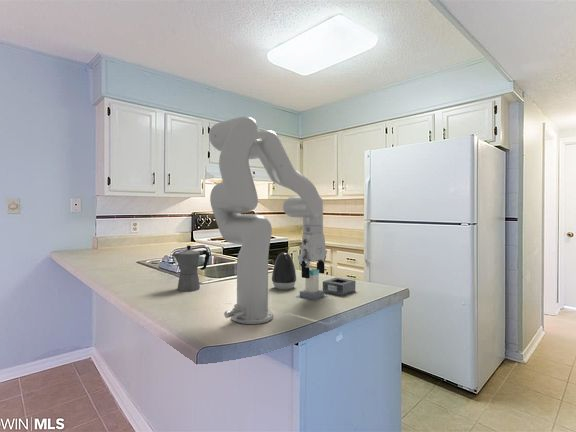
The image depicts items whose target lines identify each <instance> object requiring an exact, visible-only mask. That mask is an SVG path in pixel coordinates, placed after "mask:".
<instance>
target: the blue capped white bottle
mask: <svg viewBox="0 0 576 432" xmlns="http://www.w3.org/2000/svg"><path fill="white" fill-rule="evenodd" d="M309 270H310V278H305V289H304V290H305V292H309V293H316V292H318V290H320V289H319V288H320V287H319V281H320V280H319V277H320V273H319V270H317V268H316V269H315V268H309Z"/></svg>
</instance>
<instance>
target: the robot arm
mask: <svg viewBox="0 0 576 432" xmlns="http://www.w3.org/2000/svg"><path fill="white" fill-rule="evenodd" d="M258 127H259V126H258V123H257V122H256V120H255V119H254V118H252V117H250V116H238V117H235V118H230V119H227V120H223V121H220V122H217V123H215V124H213V125H212V126H211V128H210V129H209V132H208V138H209V142H210V144H211V145H212V147H214V149H215V150H217V151H219V152H220V154H219V160H218V162H219V163H218V167H219V173H220V176H221V179H222V181H221V182H218V183H216V184H215V185H214V186H213V187H212V189H211V192H210V197H209V200H210V201H209V202H210V205H211V206H210V207H211V210H212V213H213V215H214V219H215V222H216V224H217V227H218V231H219V233H220V235H221V237H222V239H223V240H225V242H227V243H229V244H234V245H241V247H240V250H239V251H238V254H237V259H236V303H235V304H233V305H234V306H233V308H232V309H231V310H230V309H229V310H226V311H224V313H223V315H224V317H225V318H226V319H229V318H231V320H232V321H234V322H235V323H239V324H242V325H243V324H244V325H257V324H264V323H267V322H269V321H271V320H272V319H273V318H274V313H273V311H272V310H270V309H269V254H270V253H269V250H270V245H271V240H272V234H273V228H272V224H271V221H269V219H267V217H265V216H262V215H260V214H253V213H252V214H250V213H249V212H252V211H254V210H255V209H256V208H257V207H258V203H259V199H258V198H259V197H258V192H257V189H256V185H255V183H254V178H253V175H252V171H251V167H250V163H249V162H250V161H249V160H256V159H259V161H260V162H261V165H262V166H263V167H264V170H265V171H266V174H267V175H268V176H269V178H270V180H271V182H273V183H275V184H277V185H279V186H281V187H284V188H286V189H288V190H291V191H293V192H294V193H295V194H297V196H294V195H293V196H290V197H288V198H286V199H284V201H283V205H282V208H283V209H282V210H283V212H284V213H285V215H287V216H288V217H291V218H302V238H301V246H300V247H301V249H300V250H301V251H300V252H301V253H299V254H298V255H297V260H298V262H299V263H298V264H299V265H300V267H301V278H304V279H306V278H310V270H309V269H310V267H309V266H310V263H311V262H313V263H314V262H315V263H316V269H317V270H319V274H323V275H324V274H325V263H326V258H327V254H328V250H327V247H326V240H325V239H326V238H325V235H324V234H325V233H324V203H323V202H324V201H323V198H322V197H321V196H320V193H319V192H318V190H317V188H316V186H315V184H313V182H312V181H311V180H309V178H307V177H306V176H305V175H304V174H302V173H301V172H300V171H298V170H297V169H296V168H294V166H293V163H292V162H291V159H290V158H289V156H288V154H287V152H286V149H285V147H284V145H283V143H282V142H281V140H280V138H279V136H278V135H277V133H276V132H275V131H273V130H269V129H264V130H259V128H258ZM242 213H243V214H242ZM245 213H246V214H245ZM247 213H249V214H247Z"/></svg>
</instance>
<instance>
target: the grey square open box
mask: <svg viewBox="0 0 576 432" xmlns="http://www.w3.org/2000/svg"><path fill="white" fill-rule="evenodd" d="M295 298H298V299H303V300H306V301H311V302H317V301H319V300H322V299H326V298H329V296H328V295H325V293H324V291H323V289H322V290H321V289H319V290H318V292H316V293H309V292H305V289H302V290H300V291H299V295H296V296H295Z"/></svg>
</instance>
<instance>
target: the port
mask: <svg viewBox="0 0 576 432" xmlns="http://www.w3.org/2000/svg"><path fill="white" fill-rule="evenodd" d="M322 291H324V294H330V295H335V296H338V297H339V296H340V297H345V296H347V295H349V294H352V293H354V292H356V280H353V279H347V278H342V277H332V278H330V279H326V280H324V281H322Z"/></svg>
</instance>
